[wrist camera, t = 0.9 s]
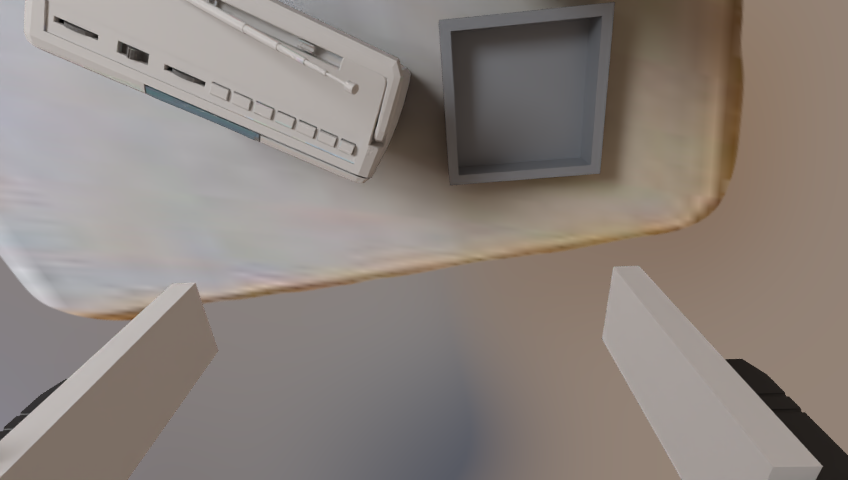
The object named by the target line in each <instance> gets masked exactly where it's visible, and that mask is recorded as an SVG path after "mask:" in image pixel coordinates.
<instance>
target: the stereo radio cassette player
mask: <svg viewBox="0 0 848 480" xmlns="http://www.w3.org/2000/svg"><path fill="white" fill-rule="evenodd" d="M24 33H25V36H26V39H27V41H28V42H30V43H31V44H32V45H33V46H35V47H37V48H39V49H41V50H44V51H46V52H48V53H51V54H53V55H55V56H58V57H60V58H63V59H65V60H67V61H70V62H72V63H74V64H77V65H79V66H81V67H84V68H86V69H89V70H91V71H93V72H96V73H98V74H100V75H103V76H105V77H107V78H110V79H112V80H115V81H117V82H119V83H122V84H124V85H126V86H129V87H131V88H133V89H136V90H138V91H141V92H143V93H145V94H148V95H150V96H152V97H154V98H156V99H159V100H161V101H164V102H166V103H168V104H171V105H173V106H176V107H178V108H181V109H183V110H185V111H188V112H190V113H193V114H195V115H198V116H200V117H203V118H205V119H207V120H210V121H212V122H214V123H217V124H219V125H221V126H224V127H226V128H228V129H231V130H233V131H235V132H238V133H240V134H242V135H244V136H247V137H249V138H251V139H253V140H257V141H259V142H261V143H264V144H266V145H268V146H271V147H273V148H276V149H278V150H280V151H283V152H285V153H287V154H290V155H292V156H294V157H297V158H299V159H301V160H304V161H306V162H308V163H311V164H313V165H316V166H318V167H320V168H323V169H325V170H327V171H330V172H332V173H334V174H337V175H339V176H341V177H344V178H347V179H349V180H352V181H354V182H358V183H364V182H366V181H367V180H368V179H369V178H372V176H373V174H374V172H375V170H376V168H377V166H378V164H379V162H380V161H381V159H382V157H383V155H384V153H385V151H386V149H387V147H388V145H389V143H390V141H391V138H392V136H393V133H394V131H395V128H396V126H397V123H398V120H399V117H400V114H401V111H402V108H403V105H404V102H405V98H406V94H407V90H408V86H409V82H410V75H411V73H410V71H409V70H408V68H406V67H404V66H403V65H402V64H400V61H399V58H397V57H395V56H393V55H391V54H389V53H386V52H384V51H382V50H380V49H378V48H376V47H374V46H372V45H370V44H368V43H366V42H363V41H361V40H359V39H357V38H355V37H353V36H351V35H349V34H347V33H345V32H342V31H340V30H338V29H336V28H334V27H332V26H330V25H328V24H326V23H324V22H322V21H319V20H317V19H315V18H313V17H311V16H309V15H307V14H305V13H303V12H301V11H299V10H296V9H294V8H292V7H290V6H288V5H286V4H284V3H282V2H280V1H278V0H25V14H24Z"/></svg>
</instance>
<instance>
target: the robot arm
mask: <svg viewBox="0 0 848 480" xmlns="http://www.w3.org/2000/svg"><path fill="white" fill-rule="evenodd" d="M602 340H603V342H604V343H605V345H606V347H607V348H608V350H609V352H610V354H611V356H612V357H613V359H614V361H615V363H616V364H617V366H618V368H619V370H620V372H621V373H622V375H623V377H624V379H625V380H626V382H627V384H628V386H629V388H630V389H631V391H632V393H633V395H634V397H635V398H636V400H637V402H638V404H639V405H640V407H641V409H642V411H643V412H644V414H645V416H646V418H647V419H648V421H649V423H650V425H651V426H652V428H653V430H654V432H655V434H656V435H657V437H658V439H659V441H660V443H661V444H662V446H663V448H664V450H665V451H666V453H667V455H668V457H669V458H670V460H671V462H672V464H673V465H674V467H675V469H676V470H677V473H678V474H679V476H680V478H681V480H848V455H847V454H846V453H845V452H844V451H843V450H842V449H841V448H840V447H839V446H838V445H837V444H836V443H835V442H834V441H833V440H832V439H831V438H830V437H829V436H828V435H827V434H826V433H825V432H824V431H823V430H822V429H821V428H820V427H819V426H818V425H817V424H816V423H815V422H814V421H813V420H812V419H811V418H810V417H809V416H807V414H806V413H802V412H801V409H800V407H799V406H798V405H797V404H796V403H795V402H794V401H793V400H792V399H791V398H790V397H786V395H785V392H784V391H783V390H782V389H781V388H780V387H779V386H778V385H777V384H776V383H775V382H774V381H773V380H772V379H771V378H770V377H769V376H768V375H767V374H765V373H764V372H762V371H760V370H759V369H757V368H756V367H754V366H752V365H751V364H749V363H748V362H746V361H744V360H743V359H724V358H723V357H722V356H721V355H720V354H719V352H718V351H717V350H716V349H715V348H714V347H713V346H712V345H711V344H710V343H709V342H708V340H707V339H706V338H705V337H704V336H703V335H702V334H701V333H700V332H699V331H698V330H697V328H696V327H695V326H694V325H693V324H692V323H691V322H690V321H689V320H688V319H687V318H686V317H685V315H684V314H683V313H682V312H681V311H680V310H679V309H678V308H677V307H676V306H675V305H674V303H673V302H672V301H671V300H670V299H669V298H668V297H667V296H666V295H665V294H664V293H663V291H662V290H661V289H660V288H659V287H658V286H657V285H656V284H655V283H654V282H653V281H652V280H651V278H650V277H649V276H648V275H647V274H646V273H645V272H644V271H643V270H642V269H641V267H640V266H622V267H621V266H620V267H613V272H612V278H611V285H610V292H609V298H608V304H607V310H606V317H605V324H604V330H603V337H602ZM217 352H218V348H217V345H216V342H215V339H214V336H213V333H212V331H211V328H210V325H209V322H208V319H207V316H206V313H205V310H204V307H203V304H202V301H201V298H200V295H199V292H198V289H197V286H196V284H195V283H177V284H171V285H170V286H169V287H168V288H167V289H166V290H165V291H163V292H162V293H161V294H160V295H159V296H158V297H157V298H156V299H155V300H154V301H153V302H151V303H150V304H149V305H148V306H147V307H146V308H145V309H144V310H143V311H142V312H141V313H139V314H138V315H137V316H136V317H135V318H134V319H133V320H132V321H131V322H130V323H129V324H127V326H125V327H124V328H123V329H122V330H121V331H120V332H119V333H118V334H116V335H115V336H114V337H113V338H112V339H111V340H110V341H109V342H108V343H107V344H106V345H105V346H103V347H102V348H101V349H100V350H99V351H98V352H97V353H96V354H95V355H93V357H91V358H90V359H89V360H88V361H87V362H86V363H85V364H84V365H83V366H82V367H80V368H79V369H78V370H77V371H76V372H75V373H74V374H73V375H72V376H70V377H69V379H65V380H63V381H62V382H60V383H59V384H57V385H56V386H54V387H52V388H51V389H49V390H47V391H46V392H44V393H43V394H41V395H40V396H39V397H38V398H36V400H34V401H33V402H32V403H31V404H30V405H29V406H28V407H26V408H25V409H24V410H23V411H22V412H21V415H20V416H16V417H15V418H14V419H13V420H12V421H11V422H10V423H8V424H7V425H6V426H5V427H4V430H3V431H1V432H0V480H128V478H129V477H130V476H131V474H132V472H133V471H134V470H135V468H136V467H137V466H138V464H139V463H140V461H141V460H142V459H143V457H144V456H145V454H146V453H147V451H148V450H149V448H150V447H151V446H152V444H153V443H154V442H155V440H156V439H157V437H158V436H159V434H160V433H161V431H162V430H163V429H164V427H165V426H166V424H167V423H168V422H169V420H170V419H171V417H172V416H173V415H174V413H175V412H176V410H177V409H178V407H179V406H180V404H181V403H182V402H183V400H184V399H185V398H186V396H187V395H188V393H189V391H190V390H191V389H192V388H193V386H194V385H195V383H196V382H197V380H198V379H199V378H200V376H201V375H202V373H203V372H204V370H205V369H206V368H207V366H208V365H209V363H210V362H211V361H212V359H213V358H214V356H215V355H216V353H217Z"/></svg>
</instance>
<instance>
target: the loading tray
mask: <svg viewBox="0 0 848 480" xmlns="http://www.w3.org/2000/svg"><path fill="white" fill-rule="evenodd" d="M614 5H615V2H610V3H600V4H591V5H581V6H571V7H562V8H552V9H542V10H533V11H523V12H513V13H504V14H494V15H484V16H475V17H465V18H455V19H446V20H439V34H440V49H441V64H442V79H443V94H444V109H445V124H446V139H447V154H448V169H449V181H450V185H460V184H473V183H486V182H498V181H511V180H524V179H537V178H550V177H562V176H575V175H588V174H600V168H601V156H602V144H603V133H604V121H605V109H606V98H607V86H608V75H609V63H610V51H611V40H612V28H613V16H614Z"/></svg>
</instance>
